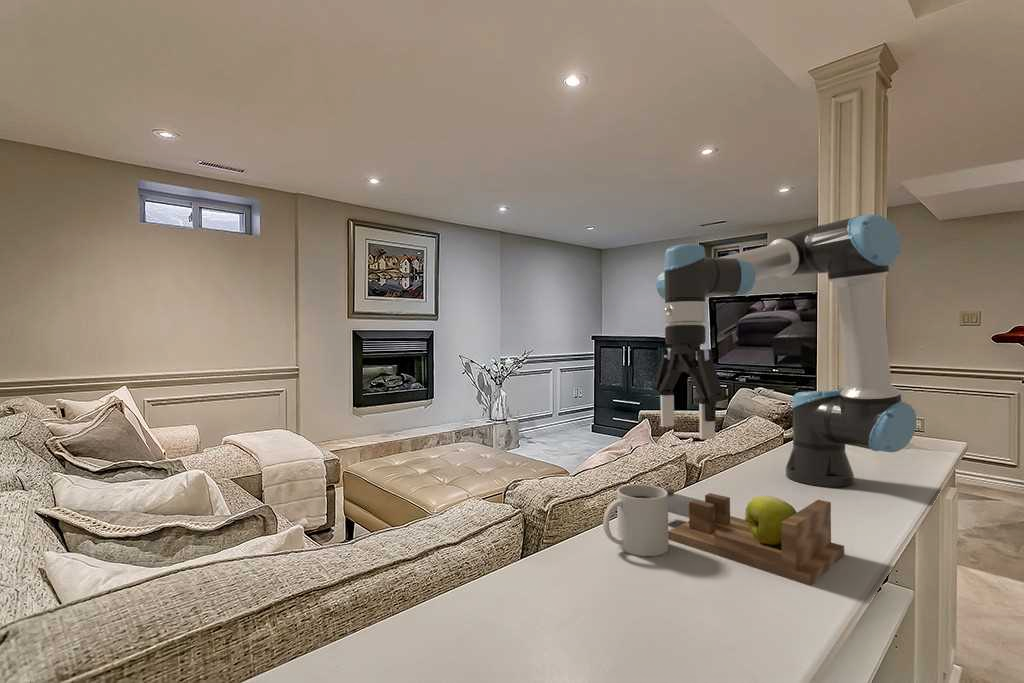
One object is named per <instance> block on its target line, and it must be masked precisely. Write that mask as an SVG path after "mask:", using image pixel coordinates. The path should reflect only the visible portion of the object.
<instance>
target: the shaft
mask: <svg viewBox="0 0 1024 683" xmlns="http://www.w3.org/2000/svg"><path fill="white" fill-rule="evenodd" d="M663 489H664V490H666V491H667V493H668V513H670V514H673V515H674V514H675V515H678V516H681V517H685V518H688V519H689V502H690V501H693V500H698V501H702V502H706V503H710V504H714V503H711V502H707V501H705V500H701V499H698V498H695V497H694V498H693V497H691V496H686V495H682V494H678V493H674V492H675V490H674V488H673V487H672V488H671V487H667V488H663Z"/></svg>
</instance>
